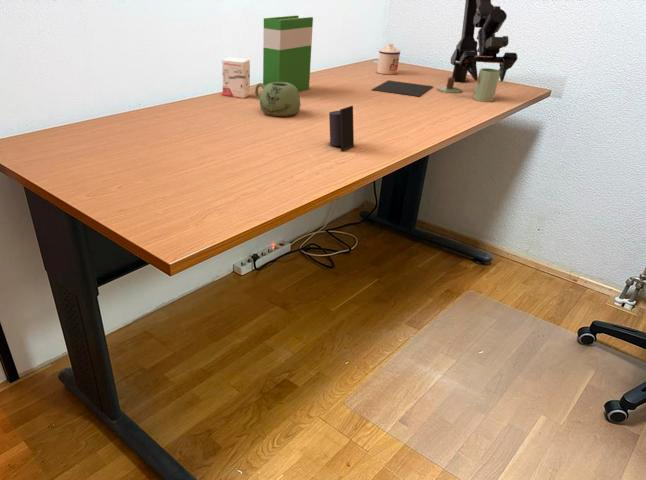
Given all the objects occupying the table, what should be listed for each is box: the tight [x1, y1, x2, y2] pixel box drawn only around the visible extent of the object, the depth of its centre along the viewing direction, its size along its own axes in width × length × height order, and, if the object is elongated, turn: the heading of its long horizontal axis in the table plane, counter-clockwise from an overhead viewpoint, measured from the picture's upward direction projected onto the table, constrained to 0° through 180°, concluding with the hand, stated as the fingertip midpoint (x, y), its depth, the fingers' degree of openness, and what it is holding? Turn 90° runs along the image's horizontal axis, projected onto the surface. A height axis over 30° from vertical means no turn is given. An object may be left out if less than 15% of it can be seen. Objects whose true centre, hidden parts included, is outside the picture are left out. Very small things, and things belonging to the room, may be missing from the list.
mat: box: [371, 80, 433, 98], centre depth 193 cm, size 20×18×1 cm
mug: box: [254, 82, 301, 117], centre depth 156 cm, size 16×13×9 cm
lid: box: [437, 77, 462, 94], centre depth 192 cm, size 9×9×4 cm
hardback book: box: [262, 15, 314, 92], centre depth 178 cm, size 18×7×24 cm, turn 140°
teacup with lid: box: [376, 43, 401, 76], centre depth 217 cm, size 12×9×12 cm
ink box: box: [221, 56, 251, 99], centre depth 172 cm, size 9×5×12 cm, turn 68°
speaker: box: [328, 105, 355, 152], centre depth 130 cm, size 8×6×10 cm
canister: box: [473, 67, 501, 103], centre depth 179 cm, size 7×7×10 cm
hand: (489, 80), depth 177 cm, fingers open, 9 cm apart
